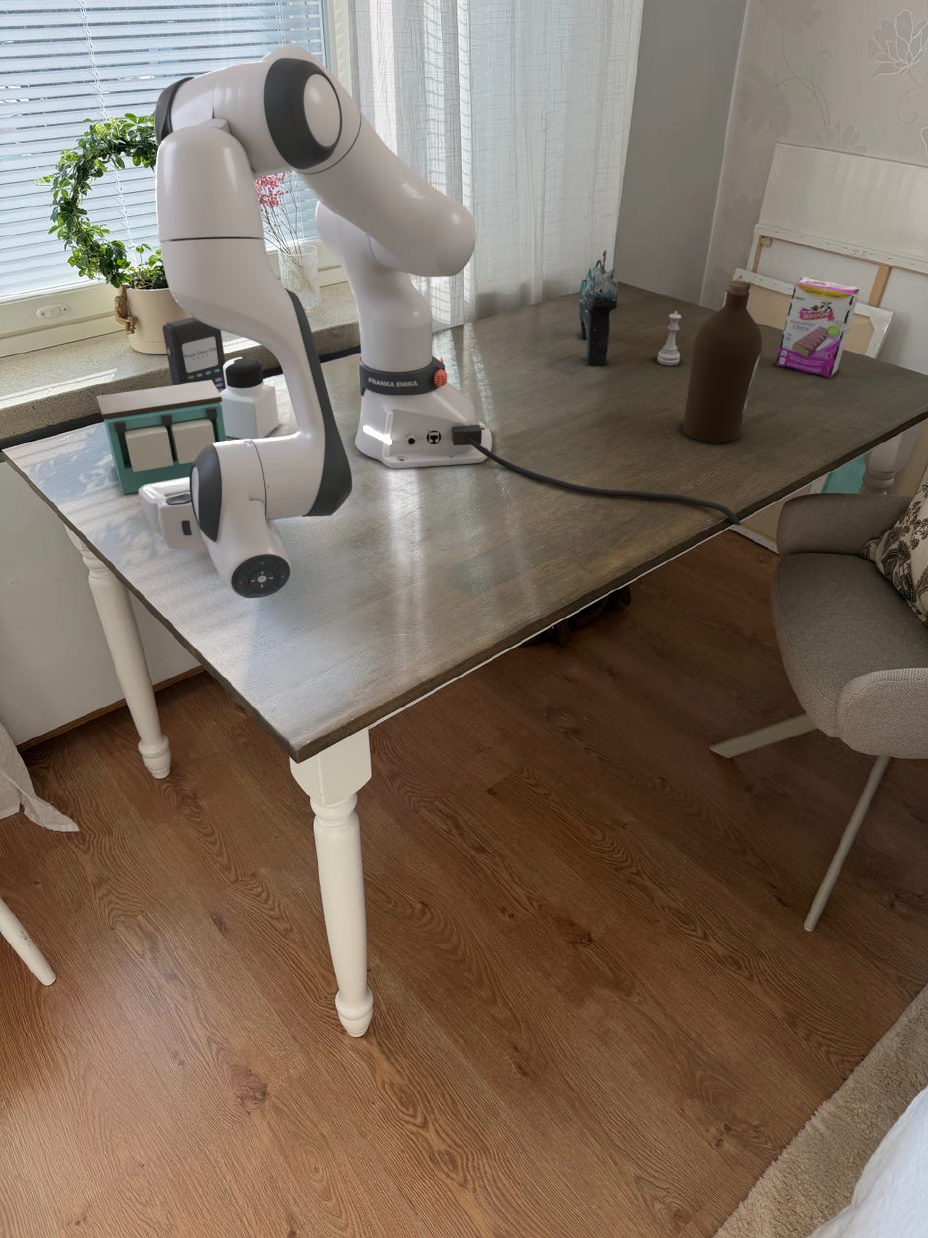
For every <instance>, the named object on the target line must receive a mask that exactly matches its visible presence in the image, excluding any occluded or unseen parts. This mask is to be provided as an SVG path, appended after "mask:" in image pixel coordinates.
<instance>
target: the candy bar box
mask: <svg viewBox="0 0 928 1238" xmlns="http://www.w3.org/2000/svg"><path fill="white" fill-rule="evenodd" d="M860 292H861V288H860V287H859V286H858V287H857V286H853V285H848V284H843V283H837V282H832V281H826V280H822V279H817V278H811V277H806V276H802V277H801V278H800V279H798V280H797V281H796V282H795V283H794V287H793V292H792V295H791V300H790V304H789V308H788V312H787V316H786V321H785V323H784V329H783V332H782V337H781V340H780V345H779V348H778V353H777V357H776V361H775V366H777V367H782V368H786V369H791V370H796V371H799V372H804V373H808V374H811V375H817V376H821V377H824V378H832V377H833V376H834V374H835V373H836V372H837V371H838V369H839V365H840V362H841V358H842V355H843V351H844V348H845V344H846V341H847V338H848V337H847V336H848V333H849V331H850V327H851V323H852V320H853V316H854V312H855V309H856V305H857V304H858V303H857V302H858V299H859V295H860Z"/></svg>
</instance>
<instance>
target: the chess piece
mask: <svg viewBox="0 0 928 1238" xmlns="http://www.w3.org/2000/svg"><path fill="white" fill-rule="evenodd" d="M668 318H669V320H670V323H669V325H668V326H667V327H666V330H667V331H668V332H669V333H668V336H667V340H666V343H665V344H664V345H663V346H662V348H661V349H660V350H659V351H658V353H657V359H656V361H657V362H658V364H661V365H664V366H677V365H678V364H679V363H680V357H681V354H680V352H679V351H678V346H676V334H677V332H679V331H680V326H679V324H678V323H679V321H680V320H682V315H681V314H678V311H677V310H675V311H674V312H673V313H670V314H669V315H668Z"/></svg>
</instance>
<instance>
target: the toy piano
mask: <svg viewBox="0 0 928 1238" xmlns="http://www.w3.org/2000/svg"><path fill="white" fill-rule="evenodd" d="M95 398H96V403H97V406H98V408H99V412H100V414H101V418H102V420H103V423H104V426H105V429H106V435H107V439H108V444H109V448H110V452H111V456H112V461H113V465H114V466H113V467H114V469H115V472H116V475H117V478H118V482H119V485H120V488H121V492H122V494H123V495H129V494H134V493H139V492H138V490H139V489H140V488H141V487H142V486H143V485H146V484H151V483H157V482H163V481H168V480H174V479H179V478H185V477H189V476H190V469H191V467H192V465H193V463H194V462H190V463H184V464H179V463H178V460H177V458H176V456H175V453H174V447H173V442H172V436H171V431H170V426H169V425H173V422H178V421H185V420H191V419H198V418H204V417H207V418H208V419H210V421H211V423H212V426H213V432H214V439H215V443H216V442H223V441H227V436H226V434H225V428H224V421H223V413H222V407H221V404H220V402H222V397H221V395H220V393H219V392H218V390H217V388H216V387H215V385H214V383H213V381H212V380H208V381H201V382H194V383H187V384H179V385H173V384H172V385H167V386H158V387H151V388H144V389H138V390H130V391H124V392H118V393H117V392H116V393H109V394H103V395H96V396H95ZM159 424H163V426H165V428H166V430H167V433H168V438H169V444H170V449H171V454H172V460H173V466H167V467H161V468H155V469H149V470H143V471H137V472H134V471H133V468H132V465H131V462H130V458H129V453H128V449H127V444H126V439H125V435H124V432H127V429H133V428H140V427H146V426H153V425H159Z"/></svg>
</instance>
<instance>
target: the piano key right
mask: <svg viewBox="0 0 928 1238" xmlns="http://www.w3.org/2000/svg"><path fill="white" fill-rule="evenodd" d="M169 426H170V431H171V436H172V442H173V447H174V453H175V456H176V458H177V460H178V463H179V464H184V463H190V462H194V461H195V460H196V458H197V457H198V455H199V453H200V452H201V451H202V450H203V449H204V448H205V447H206V446H207V445H208V444H209V443H215V439H214V432H213V426H212V423H211V421H210V419H208V418H207V417H204V418H198V419H191V420H185V421H178V422H173V425H169Z"/></svg>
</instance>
